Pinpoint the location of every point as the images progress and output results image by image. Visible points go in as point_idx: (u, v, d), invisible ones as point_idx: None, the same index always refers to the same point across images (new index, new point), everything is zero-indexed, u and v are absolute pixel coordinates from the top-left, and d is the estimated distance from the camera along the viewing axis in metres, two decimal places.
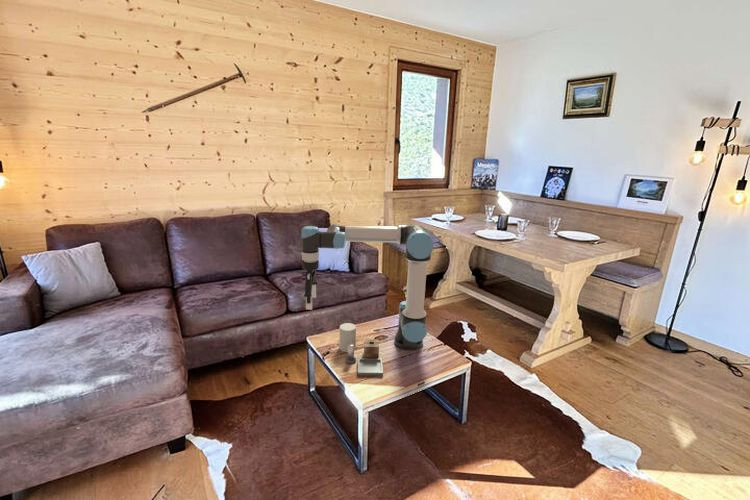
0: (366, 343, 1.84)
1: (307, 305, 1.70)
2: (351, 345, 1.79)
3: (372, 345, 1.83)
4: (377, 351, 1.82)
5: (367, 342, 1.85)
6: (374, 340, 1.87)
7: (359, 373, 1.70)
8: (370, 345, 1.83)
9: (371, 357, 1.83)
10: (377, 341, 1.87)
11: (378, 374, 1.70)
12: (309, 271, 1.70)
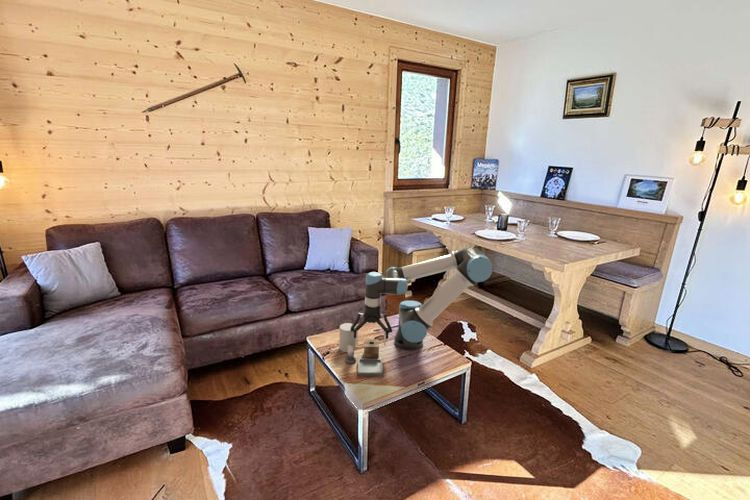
0: (366, 343, 1.84)
1: None
2: (351, 345, 1.79)
3: (372, 345, 1.83)
4: (377, 351, 1.82)
5: (367, 342, 1.85)
6: (374, 340, 1.87)
7: (359, 373, 1.70)
8: (370, 345, 1.83)
9: (371, 357, 1.83)
10: (377, 341, 1.87)
11: (378, 374, 1.70)
12: (364, 312, 1.80)
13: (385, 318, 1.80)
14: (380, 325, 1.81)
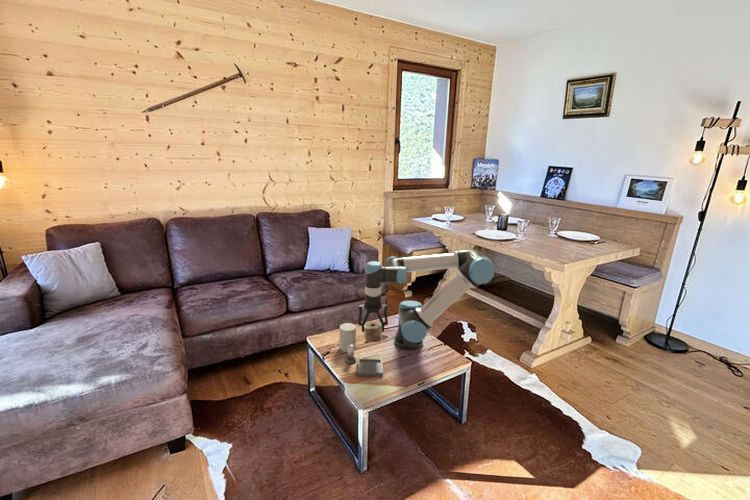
0: (367, 325, 1.82)
1: None
2: (351, 345, 1.79)
3: (373, 327, 1.80)
4: (379, 333, 1.80)
5: (368, 324, 1.83)
6: (375, 322, 1.85)
7: (359, 373, 1.70)
8: (371, 327, 1.80)
9: (373, 339, 1.81)
10: (378, 323, 1.84)
11: (378, 374, 1.70)
12: None
13: (385, 309, 1.79)
14: (378, 316, 1.80)
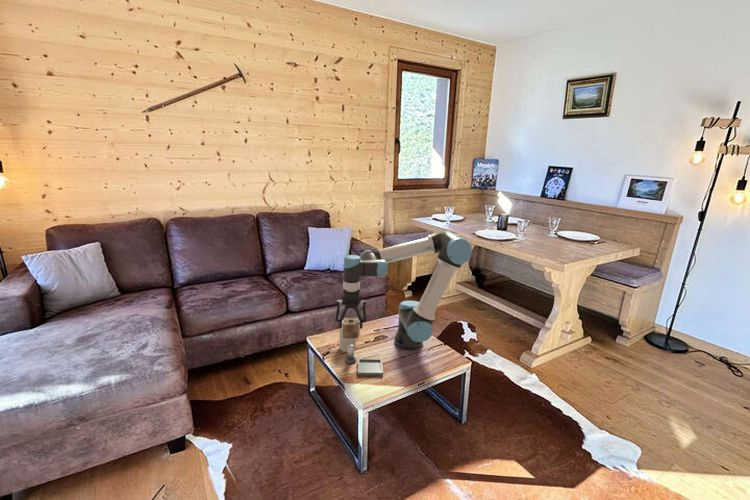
0: (345, 321, 1.75)
1: None
2: (351, 345, 1.79)
3: (351, 323, 1.74)
4: (356, 329, 1.73)
5: (346, 320, 1.76)
6: (354, 318, 1.78)
7: (359, 373, 1.70)
8: (349, 323, 1.74)
9: (350, 336, 1.74)
10: (357, 319, 1.77)
11: (378, 374, 1.70)
12: None
13: (364, 305, 1.73)
14: (357, 312, 1.73)
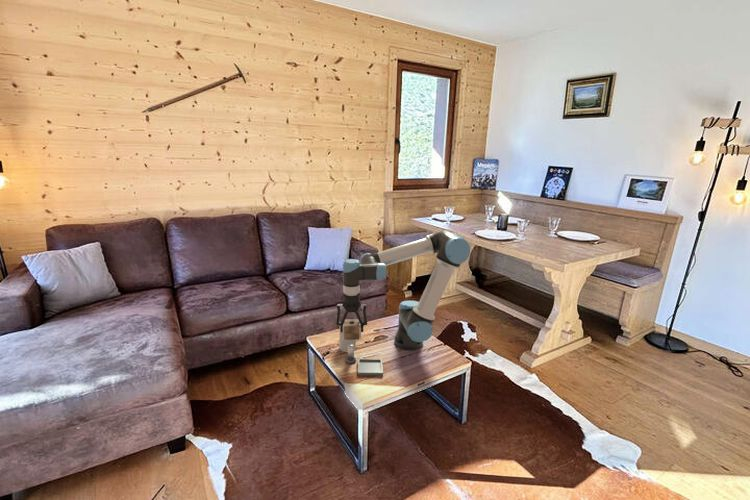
0: (346, 323, 1.76)
1: None
2: (351, 345, 1.79)
3: (352, 324, 1.74)
4: (357, 330, 1.74)
5: (347, 322, 1.77)
6: (355, 320, 1.79)
7: (359, 373, 1.70)
8: (350, 324, 1.74)
9: (351, 337, 1.74)
10: (358, 321, 1.78)
11: (378, 374, 1.70)
12: None
13: (364, 309, 1.73)
14: (357, 316, 1.74)
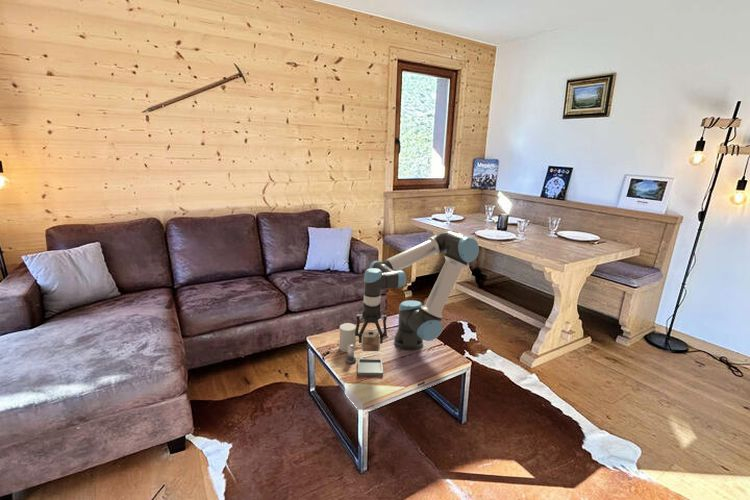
0: (365, 333, 1.70)
1: None
2: (351, 345, 1.79)
3: (371, 335, 1.69)
4: (377, 342, 1.68)
5: (366, 332, 1.71)
6: (374, 330, 1.73)
7: (359, 373, 1.70)
8: (369, 335, 1.69)
9: (370, 349, 1.69)
10: (377, 331, 1.72)
11: (378, 374, 1.70)
12: None
13: (384, 320, 1.68)
14: (377, 327, 1.69)
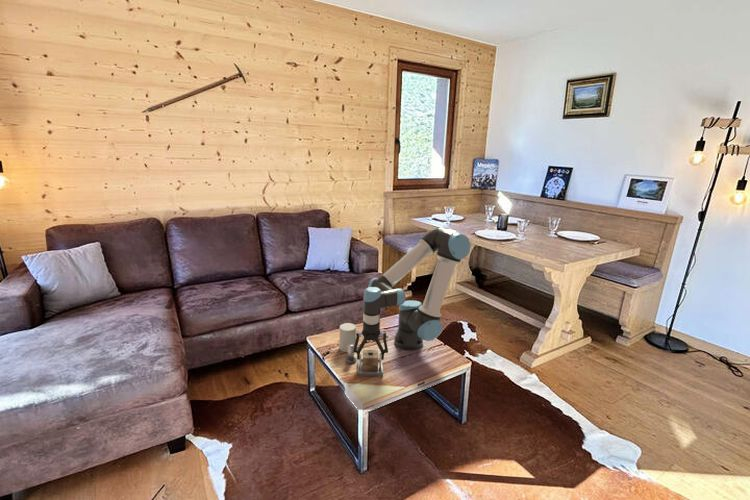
0: (365, 354, 1.73)
1: None
2: (351, 345, 1.79)
3: (371, 356, 1.72)
4: (376, 362, 1.71)
5: (366, 353, 1.74)
6: (373, 351, 1.76)
7: (359, 373, 1.70)
8: (369, 356, 1.72)
9: (370, 369, 1.72)
10: (376, 352, 1.75)
11: (378, 374, 1.70)
12: None
13: (384, 337, 1.70)
14: (377, 344, 1.71)
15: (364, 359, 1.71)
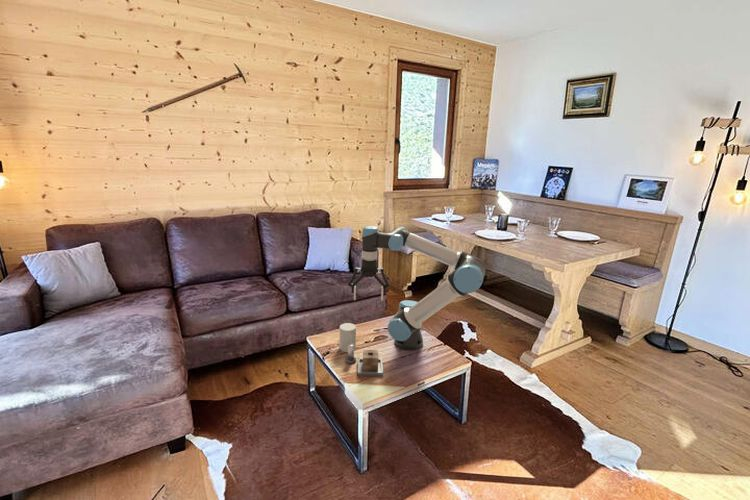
0: (365, 354, 1.73)
1: (354, 294, 1.87)
2: (351, 345, 1.79)
3: (371, 356, 1.72)
4: (376, 362, 1.71)
5: (366, 353, 1.74)
6: (373, 351, 1.76)
7: (359, 373, 1.70)
8: (369, 356, 1.72)
9: (370, 369, 1.72)
10: (376, 352, 1.75)
11: (378, 374, 1.70)
12: (361, 266, 1.82)
13: (382, 272, 1.82)
14: (377, 279, 1.83)
15: (364, 359, 1.71)
